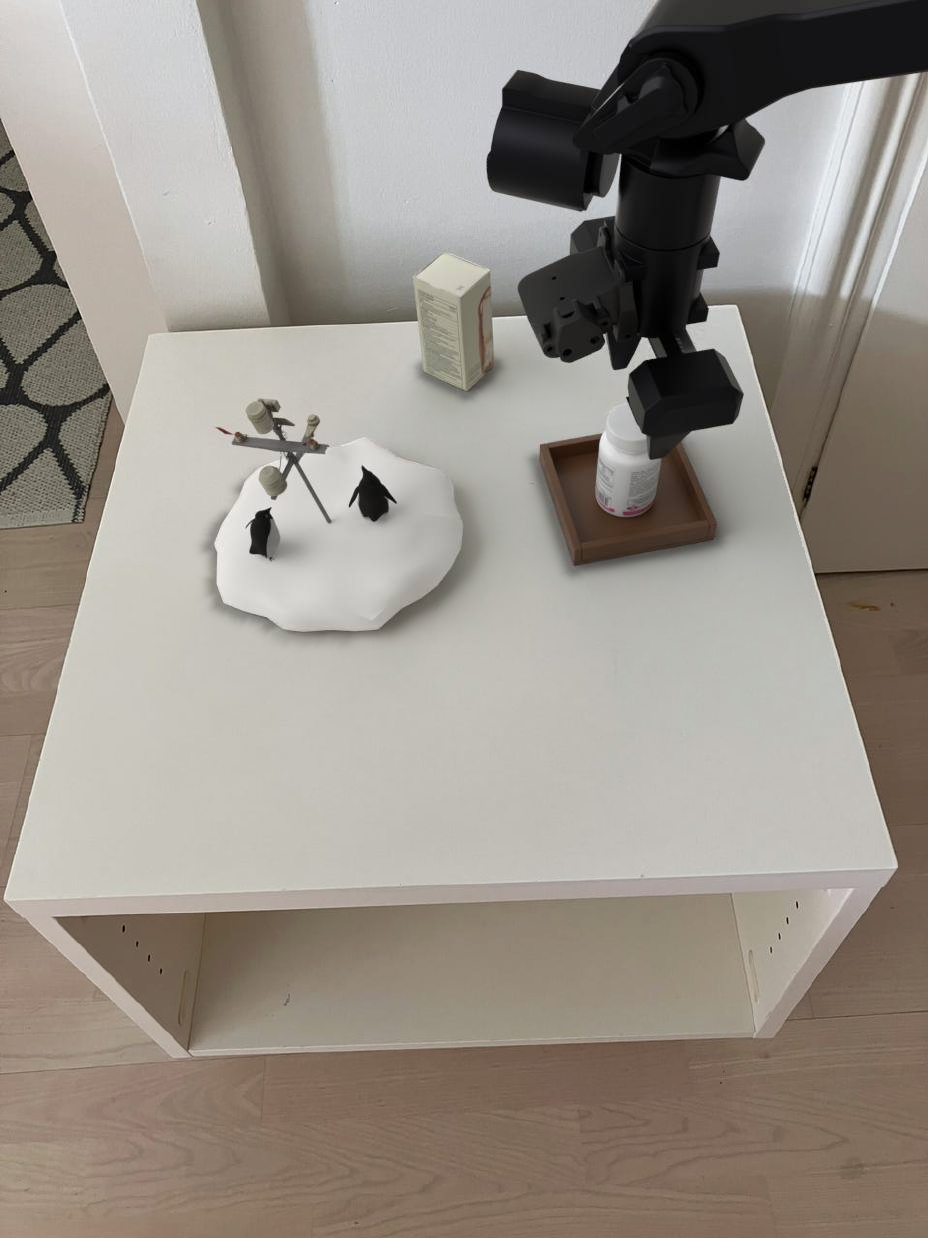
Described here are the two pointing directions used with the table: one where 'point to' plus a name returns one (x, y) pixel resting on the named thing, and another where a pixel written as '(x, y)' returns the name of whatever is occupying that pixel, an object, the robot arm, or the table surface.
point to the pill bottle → (625, 467)
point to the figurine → (333, 531)
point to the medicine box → (455, 319)
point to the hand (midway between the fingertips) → (636, 411)
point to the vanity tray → (606, 536)
